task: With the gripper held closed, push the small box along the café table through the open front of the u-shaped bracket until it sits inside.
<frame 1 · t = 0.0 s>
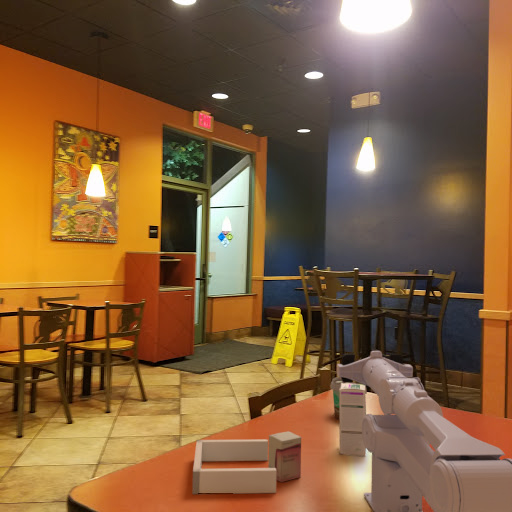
hand: (362, 359, 106), 22 cm above the table, tool horizontal, fingers open, 7 cm apart
syrup box: (352, 452, 112), on the table
small box: (284, 477, 98), on the table
food container: (343, 419, 137), on the table
u-shaped bracket: (233, 474, 98), on the table
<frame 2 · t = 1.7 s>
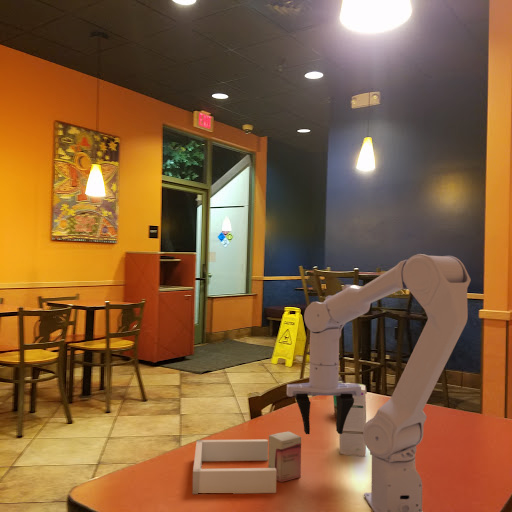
hand: (323, 432, 99), 8 cm above the table, tool pointing down, fingers open, 6 cm apart
nothing on the table moved.
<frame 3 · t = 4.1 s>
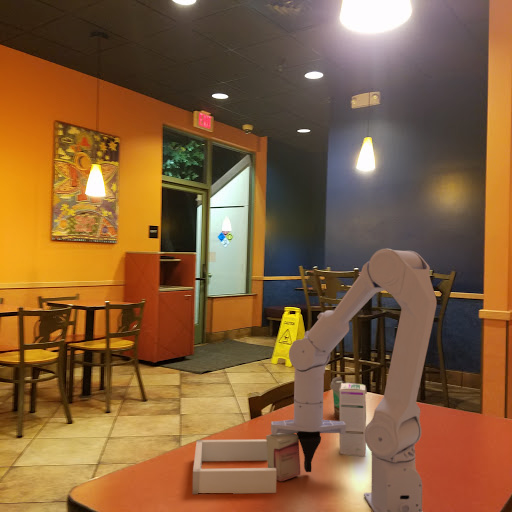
hand: (307, 470, 99), 1 cm above the table, tool pointing down, fingers closed, pressing on small box
small box: (284, 476, 98), on the table, touching gripper
everything else where it was.
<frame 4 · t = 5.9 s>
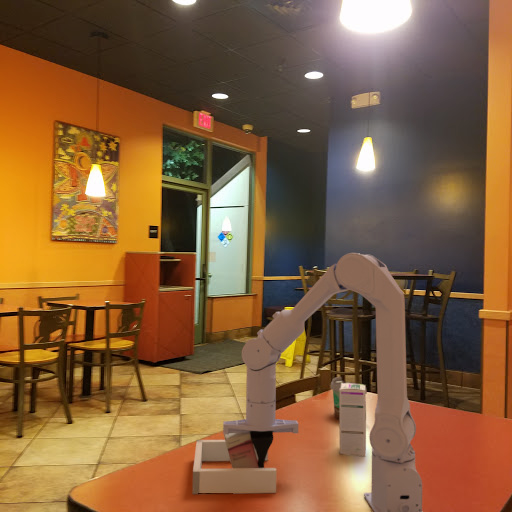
hand: (260, 470, 98), 1 cm above the table, tool pointing down, fingers closed, pressing on small box
small box: (247, 473, 98), on the table, touching gripper
everything else where it was.
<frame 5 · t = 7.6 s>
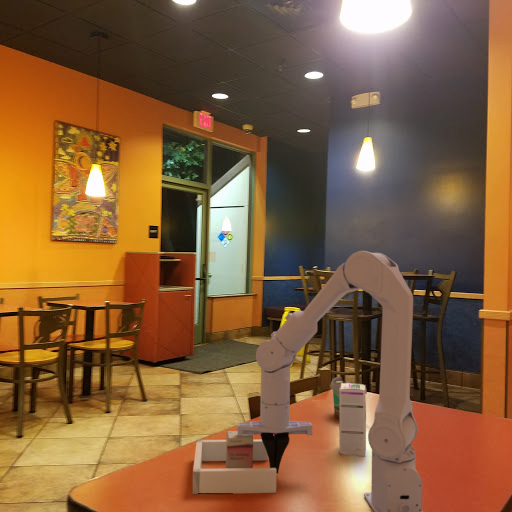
hand: (274, 471, 98), 1 cm above the table, tool pointing down, fingers closed
small box: (238, 475, 99), on the table
everything else where it was.
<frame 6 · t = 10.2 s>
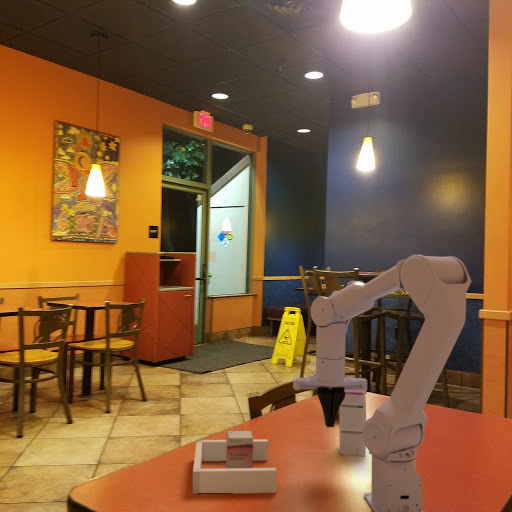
hand: (329, 425, 100), 9 cm above the table, tool pointing down, fingers closed
nothing on the table moved.
at the end: small box inside the target area (1.9 cm from its centre), on the table; small box moved 8.9 cm from its start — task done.
